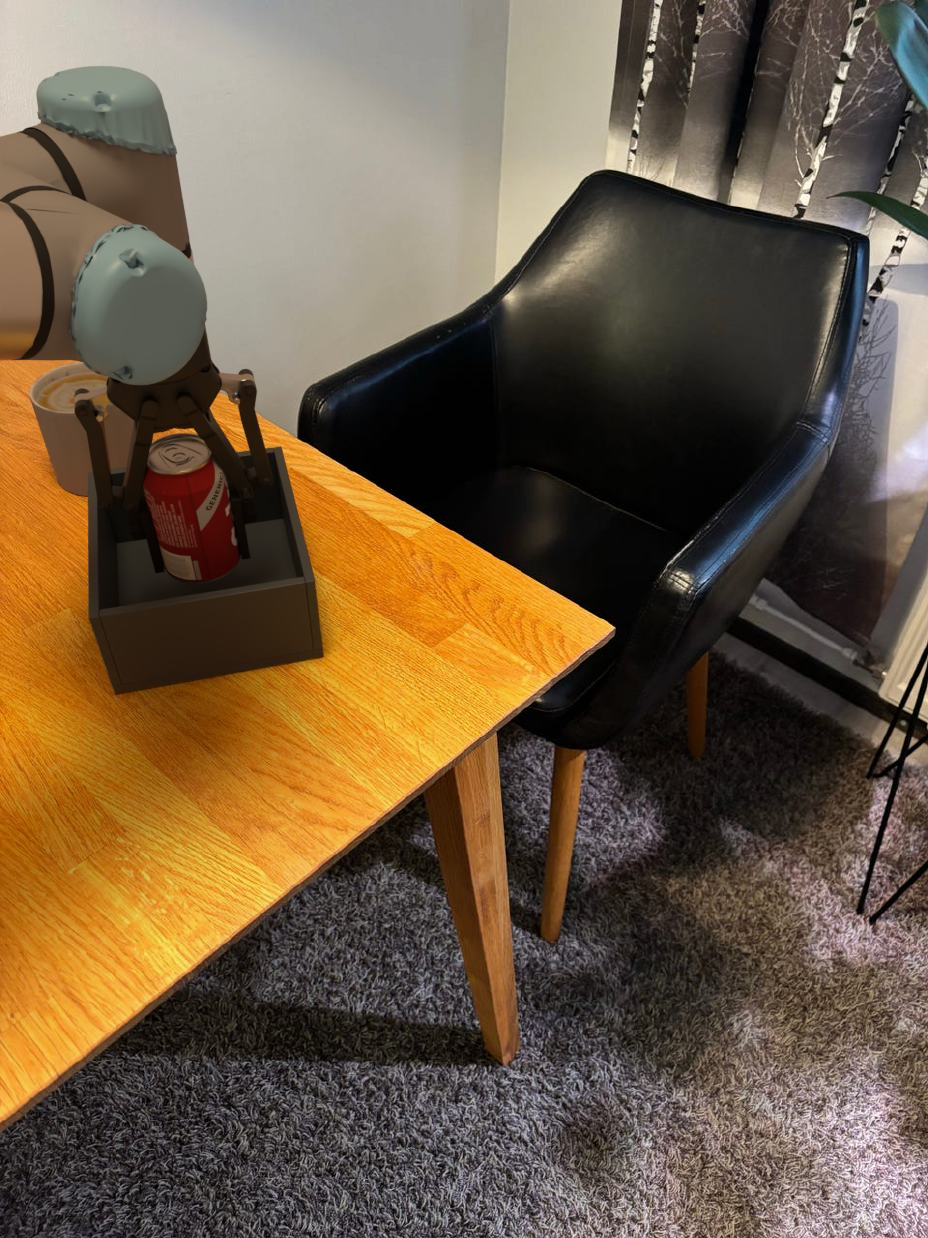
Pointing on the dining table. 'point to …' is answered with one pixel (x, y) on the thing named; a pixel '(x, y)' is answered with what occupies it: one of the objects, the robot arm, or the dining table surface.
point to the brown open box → (202, 597)
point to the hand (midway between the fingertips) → (202, 555)
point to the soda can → (190, 509)
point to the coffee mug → (75, 425)
